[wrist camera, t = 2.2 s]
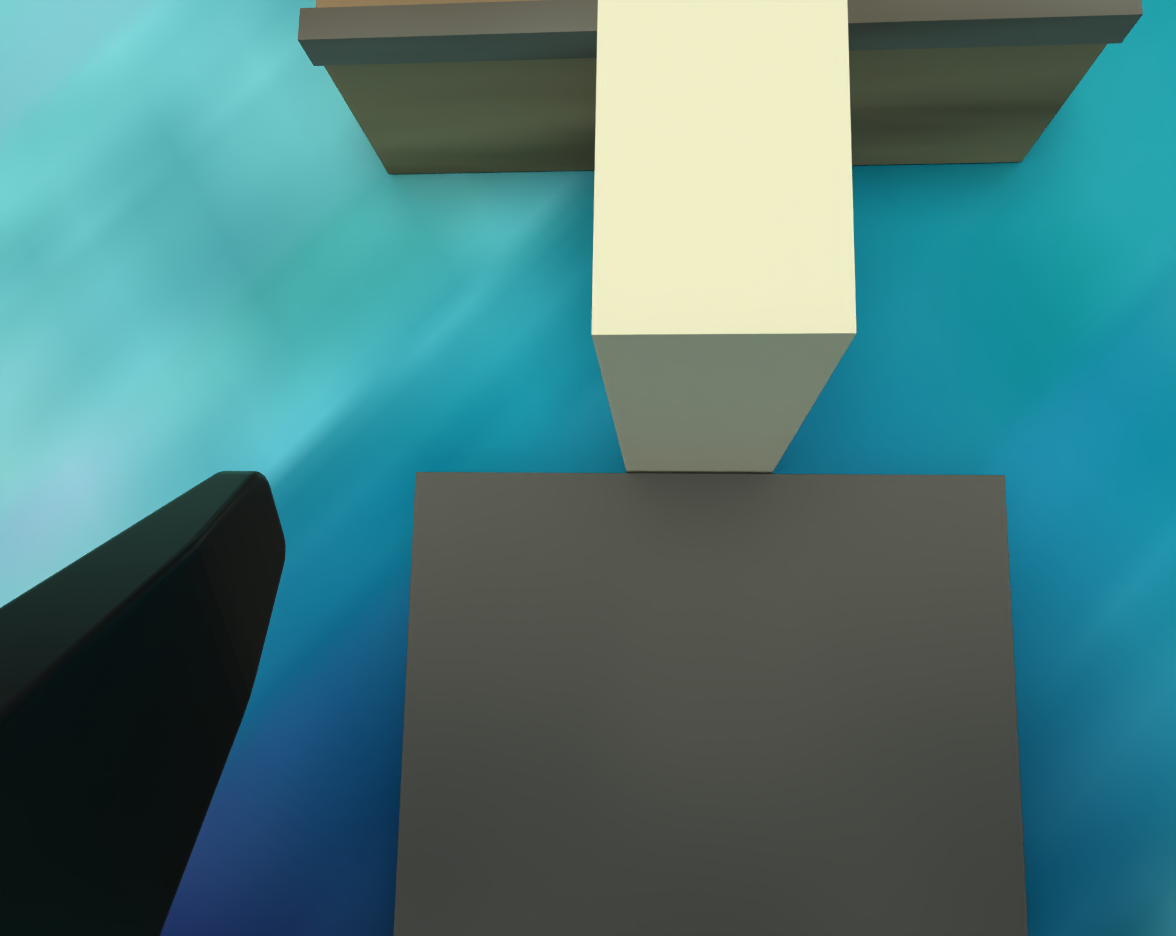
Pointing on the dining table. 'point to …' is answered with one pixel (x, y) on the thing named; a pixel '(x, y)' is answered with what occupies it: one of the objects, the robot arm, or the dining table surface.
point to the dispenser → (569, 65)
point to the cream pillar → (720, 225)
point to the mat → (710, 707)
